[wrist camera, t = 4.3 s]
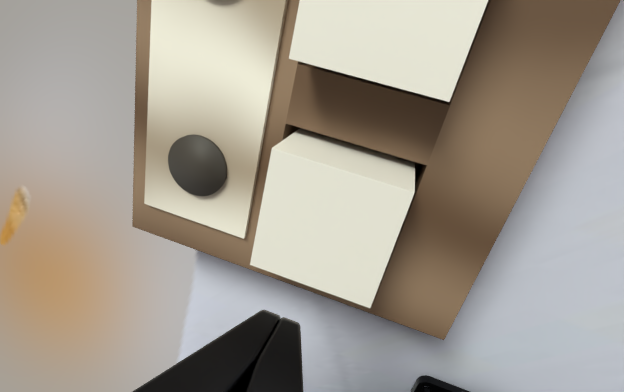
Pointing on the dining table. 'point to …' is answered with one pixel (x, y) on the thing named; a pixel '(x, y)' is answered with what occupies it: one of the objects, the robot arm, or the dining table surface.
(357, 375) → the dining table surface
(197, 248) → the button board
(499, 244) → the dining table surface
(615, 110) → the dining table surface
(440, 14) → the middle button
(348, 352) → the dining table surface
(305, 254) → the button
